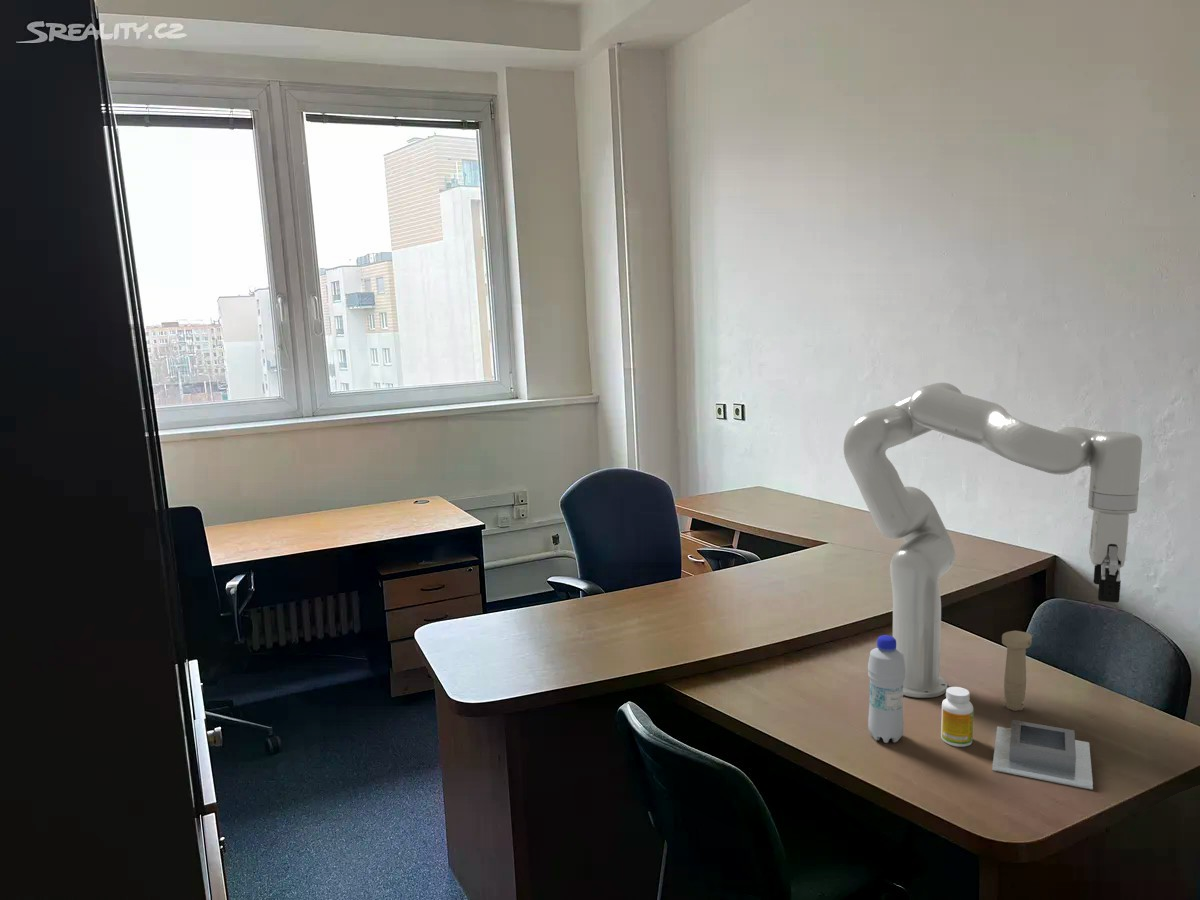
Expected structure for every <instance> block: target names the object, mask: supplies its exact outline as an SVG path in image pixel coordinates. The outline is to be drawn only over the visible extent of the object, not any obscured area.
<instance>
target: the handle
mask: <svg viewBox="0 0 1200 900" xmlns="http://www.w3.org/2000/svg"><path fill="white" fill-rule="evenodd" d="M1032 639H1033V635H1032V634H1030V633H1029V632H1026V631H1021V630H1011V631H1010V630H1009V631H1006V632H1004V633H1002V635H1001V644H1002V645H1003V646H1005V647H1006V657H1005V669H1004V679H1003V680H1004V681H1003V689H1004V691H1003V695H1004V701H1005V707H1006V709H1007V710H1012V711H1013V712H1014V711H1015V712H1017V711H1022V710H1023V708H1024V701H1025V697H1026V690H1027V689H1026V687H1027V665H1026V664H1027V661H1026V656H1027V654H1026V653H1027V650H1026V649H1028V648H1030V647H1031V645H1032V643H1033V642H1032V641H1033V640H1032Z"/></svg>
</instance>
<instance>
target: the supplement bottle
mask: <svg viewBox="0 0 1200 900" xmlns="http://www.w3.org/2000/svg"><path fill="white" fill-rule="evenodd" d="M970 694H971V693H970V691H969V689H966V688H964V687H960V686H949V687H947V689H946V692H945V697H946V698H945V699H943V700H942V703H941V716H940V717H941V719H940V720H941V721H940V723H941V724H940V737H941V740H942V741H943V742H944V743H946V744H948V746H949V745H950V746H953V747H957V748H959V747H960V748H962V747H963V748H965V747H968V746H970V745H972V743H973V734H974V733H973V731H974V727H973V726H974V706H973V704H972V703H971V701H970V696H971V695H970Z"/></svg>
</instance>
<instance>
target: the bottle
mask: <svg viewBox="0 0 1200 900" xmlns="http://www.w3.org/2000/svg"><path fill="white" fill-rule="evenodd" d="M867 671H868V672H867V675H868V677H869V706H868V707H869V708H868V719H867V720H868V721H867V724H868V725H867V726H868V732H869V735H871V736H872V737H873V739H874V740H875V741H877V740H879V741H880V740H881V739H882V741H883V743H885V744H888V743H889V741H890V739H891V741H892V742H893V743H897V742H898V741H899V740H900V739H901V738H902V736H903V734H904V726H905V725H904V724H905V723H904V711H903V710H904V695H903V681H904V679H905V672H906V669H905V662H904V655H903V653H902V652H901V651H899V650H897V649H896V640H895V638H894V637H893V635H892V636H891V635H887V634H883V635H880V636H878V638H877V639H876V647H874V648H873V649H871V650H870V652H869V658H868V663H867Z"/></svg>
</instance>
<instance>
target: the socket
mask: <svg viewBox="0 0 1200 900" xmlns="http://www.w3.org/2000/svg"><path fill="white" fill-rule="evenodd" d="M1010 727H1011V728H1009V727H1004V726H998V725H997V726H996V735H995V742H994V750H993V751H994V752H993V759H992V769H991V770H992V771H993V772H1000V773H1005V774H1011V775H1015V776H1021V777H1026V778H1031V779H1037V780H1041V781H1046V782H1051V783H1056V784H1061V785H1067V786H1070V787H1075V788H1082V789H1085V790H1086V789H1087V790H1093V789H1094V787H1093V785H1094V782H1093V772H1092V771H1093V770H1092V759H1091V758H1092V757H1091V748H1090V742H1088V741H1084V740H1077V739H1076V737H1075V734H1076V733H1075V729H1069V728H1062V727H1055V726H1051V725H1045V724H1044V725H1043V724H1041V723H1040V724H1038V723H1032V722H1028V721H1022V720H1021V721H1020V720H1015V719H1012V720H1011V726H1010Z"/></svg>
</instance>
